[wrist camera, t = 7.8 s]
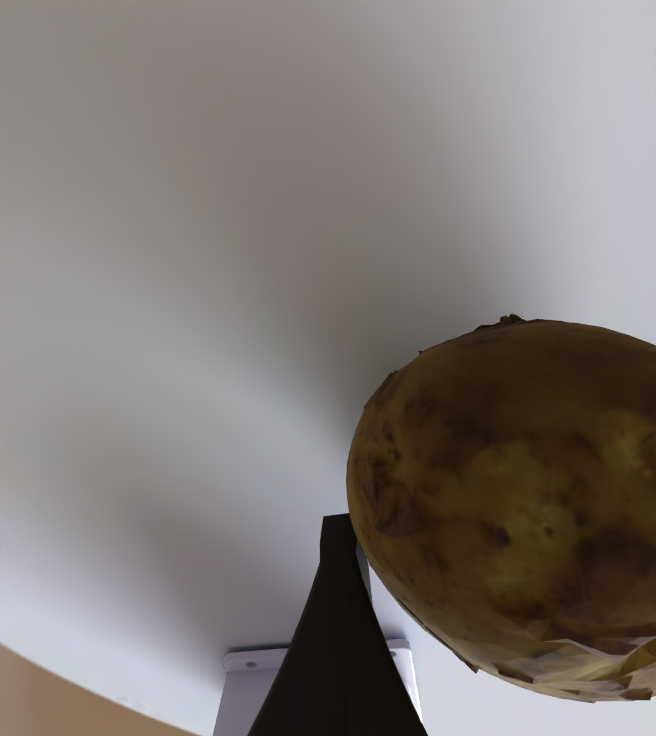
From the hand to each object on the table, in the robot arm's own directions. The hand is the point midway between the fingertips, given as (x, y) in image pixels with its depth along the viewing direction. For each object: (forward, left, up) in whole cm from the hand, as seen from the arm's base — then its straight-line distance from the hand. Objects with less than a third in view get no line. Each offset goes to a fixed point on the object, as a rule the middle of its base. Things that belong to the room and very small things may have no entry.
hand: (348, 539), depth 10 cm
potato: (+4, -1, -4) cm, 5 cm away
